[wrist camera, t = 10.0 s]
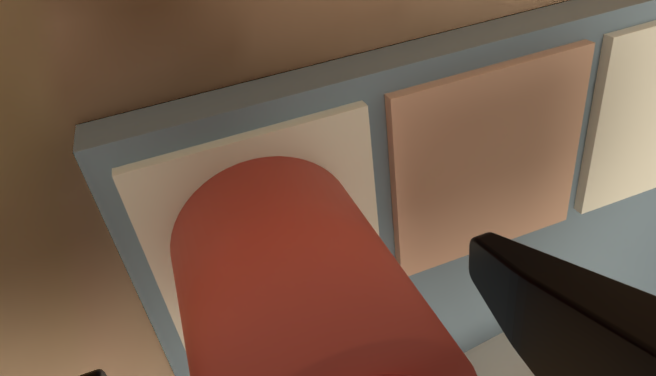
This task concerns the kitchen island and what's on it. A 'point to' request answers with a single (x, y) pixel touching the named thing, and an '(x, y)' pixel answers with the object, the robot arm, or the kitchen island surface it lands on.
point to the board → (420, 153)
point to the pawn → (297, 282)
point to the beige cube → (497, 358)
